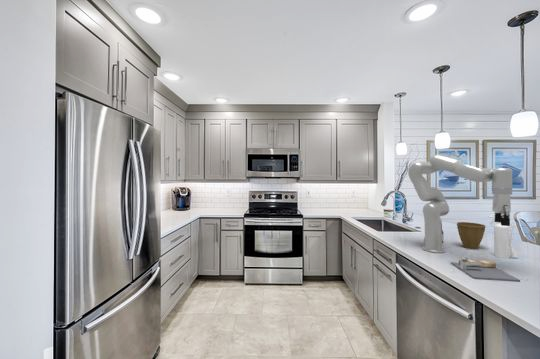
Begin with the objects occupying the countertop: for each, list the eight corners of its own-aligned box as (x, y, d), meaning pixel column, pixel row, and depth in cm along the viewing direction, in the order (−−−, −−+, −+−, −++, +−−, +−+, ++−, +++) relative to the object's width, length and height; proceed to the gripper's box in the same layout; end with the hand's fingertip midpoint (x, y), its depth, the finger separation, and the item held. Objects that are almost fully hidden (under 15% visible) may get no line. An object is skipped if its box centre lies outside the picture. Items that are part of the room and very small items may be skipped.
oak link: (463, 265, 125) (463, 259, 125) (458, 263, 129) (458, 256, 129) (496, 267, 122) (496, 261, 122) (490, 264, 126) (490, 258, 126)
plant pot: (456, 248, 159) (456, 224, 159) (457, 243, 170) (457, 221, 170) (486, 252, 149) (486, 227, 149) (485, 246, 160) (485, 223, 160)
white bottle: (521, 260, 134) (518, 216, 135) (492, 257, 140) (489, 215, 141) (516, 257, 140) (513, 215, 140) (489, 254, 146) (486, 214, 147)
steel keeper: (460, 269, 123) (460, 261, 123) (479, 270, 121) (479, 262, 121) (463, 271, 120) (463, 263, 120) (482, 272, 118) (482, 264, 118)
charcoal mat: (450, 263, 131) (450, 262, 131) (489, 265, 127) (489, 264, 127) (473, 278, 112) (473, 277, 112) (520, 281, 108) (520, 280, 108)
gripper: (487, 190, 133) (487, 220, 133) (497, 192, 118) (497, 226, 118) (505, 190, 129) (505, 221, 129) (518, 192, 114) (518, 227, 114)
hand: (501, 223), depth 124 cm, fingers open, 9 cm apart
